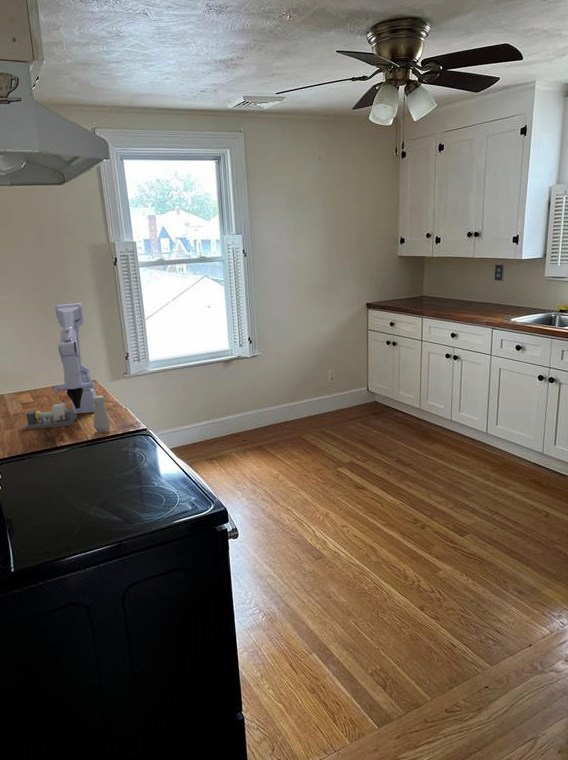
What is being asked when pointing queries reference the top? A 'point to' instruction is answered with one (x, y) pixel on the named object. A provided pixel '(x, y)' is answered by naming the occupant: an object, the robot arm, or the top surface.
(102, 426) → the salt shaker
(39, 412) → the yellow round puck
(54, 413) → the sleeve
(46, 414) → the rod slider bracket
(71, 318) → the robot arm
